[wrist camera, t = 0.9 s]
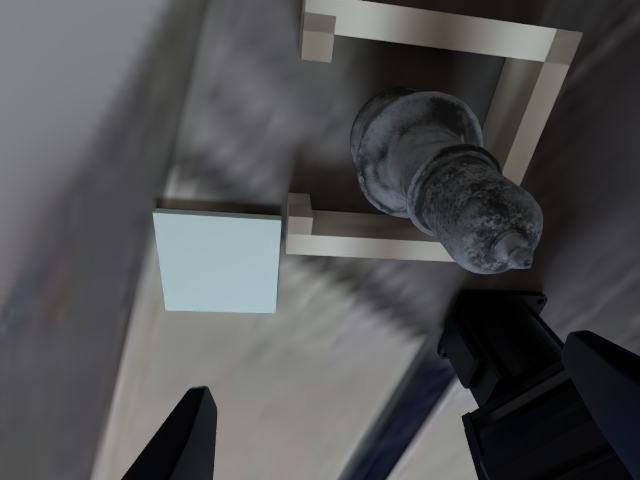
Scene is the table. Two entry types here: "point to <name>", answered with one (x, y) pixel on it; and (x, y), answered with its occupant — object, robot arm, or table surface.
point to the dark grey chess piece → (444, 179)
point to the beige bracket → (498, 131)
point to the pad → (218, 260)
